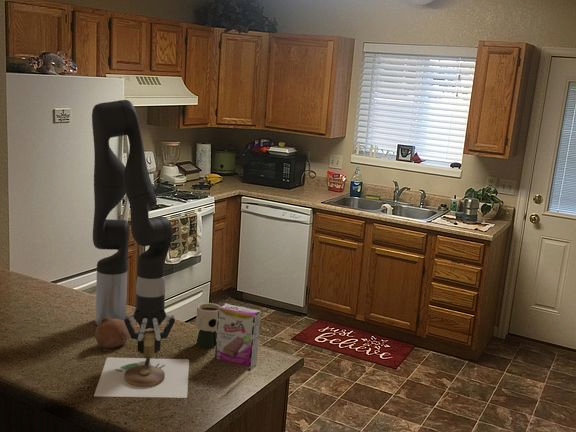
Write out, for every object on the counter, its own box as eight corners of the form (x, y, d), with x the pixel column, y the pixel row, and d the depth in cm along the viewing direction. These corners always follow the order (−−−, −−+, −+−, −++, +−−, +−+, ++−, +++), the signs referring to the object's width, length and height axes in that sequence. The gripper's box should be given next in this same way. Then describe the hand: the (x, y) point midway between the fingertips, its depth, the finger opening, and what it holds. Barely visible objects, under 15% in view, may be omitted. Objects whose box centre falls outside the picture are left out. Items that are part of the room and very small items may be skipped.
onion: (98, 357, 184) (84, 325, 183) (125, 341, 190) (112, 310, 189) (112, 357, 177) (97, 324, 176) (140, 340, 183) (126, 309, 182)
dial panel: (106, 362, 174) (107, 356, 174) (188, 364, 177) (189, 358, 177) (93, 401, 153) (93, 395, 153) (186, 403, 156) (187, 396, 156)
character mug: (203, 358, 182) (206, 314, 180) (185, 350, 186) (187, 308, 184) (227, 347, 191) (230, 305, 189) (209, 340, 195) (211, 299, 193)
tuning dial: (163, 387, 160) (164, 355, 158) (121, 385, 158) (123, 354, 157) (167, 358, 176) (169, 330, 174) (130, 357, 174) (131, 328, 173)
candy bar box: (213, 363, 180) (217, 307, 176) (221, 356, 184) (224, 302, 181) (250, 371, 176) (254, 315, 173) (257, 365, 181) (261, 309, 178)
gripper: (176, 287, 175) (174, 346, 179) (123, 287, 172) (122, 347, 175) (178, 296, 168) (175, 357, 171) (122, 296, 165) (121, 359, 168)
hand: (148, 352), depth 173 cm, fingers closed on tuning dial, 3 cm apart
